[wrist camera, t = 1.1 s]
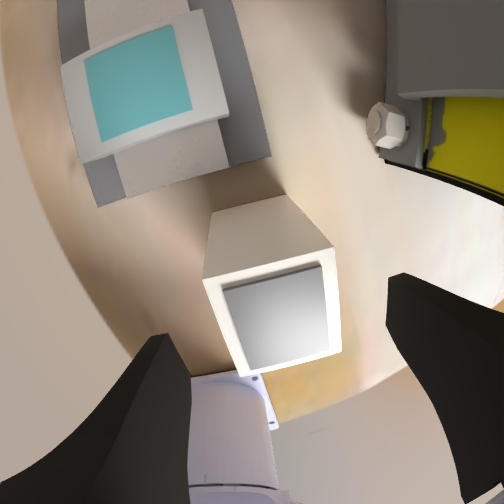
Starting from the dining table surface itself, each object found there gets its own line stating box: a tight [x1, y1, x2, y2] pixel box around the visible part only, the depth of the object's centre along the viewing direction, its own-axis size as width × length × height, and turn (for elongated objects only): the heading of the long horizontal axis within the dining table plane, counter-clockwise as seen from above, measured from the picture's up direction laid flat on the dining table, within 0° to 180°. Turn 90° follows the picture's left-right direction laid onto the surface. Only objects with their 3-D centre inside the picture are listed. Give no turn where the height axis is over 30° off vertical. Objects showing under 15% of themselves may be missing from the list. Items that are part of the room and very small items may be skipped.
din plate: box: [57, 0, 271, 207], centre depth 9 cm, size 21×9×1 cm, turn 13°
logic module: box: [202, 194, 341, 377], centre depth 12 cm, size 4×4×7 cm
